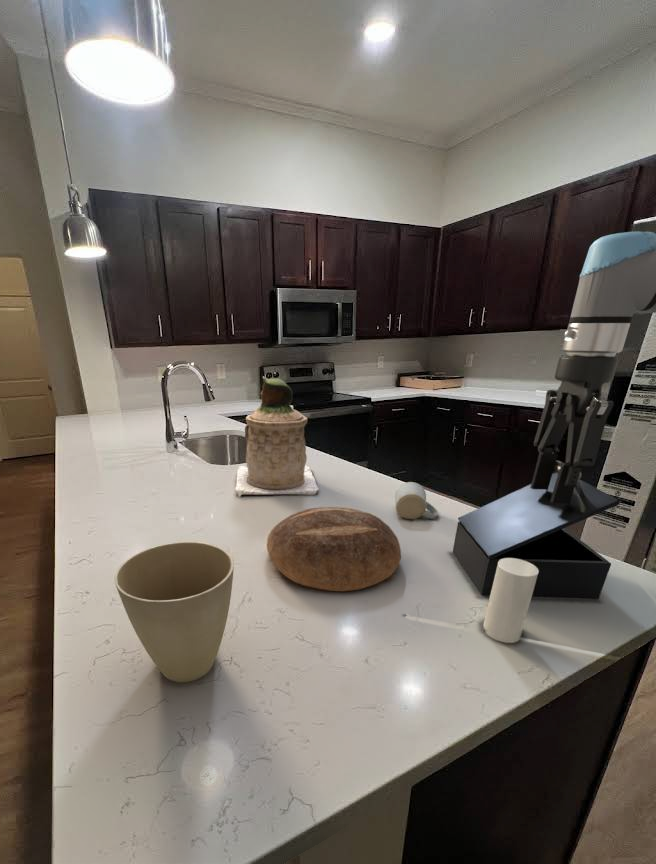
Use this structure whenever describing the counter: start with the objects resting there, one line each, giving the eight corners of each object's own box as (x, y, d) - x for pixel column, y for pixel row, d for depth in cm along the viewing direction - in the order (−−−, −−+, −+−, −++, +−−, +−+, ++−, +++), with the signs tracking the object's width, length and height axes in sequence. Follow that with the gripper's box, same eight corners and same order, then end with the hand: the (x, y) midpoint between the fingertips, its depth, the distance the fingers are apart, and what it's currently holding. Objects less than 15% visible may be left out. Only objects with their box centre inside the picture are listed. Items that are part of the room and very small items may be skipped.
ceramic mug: (394, 519, 104) (397, 491, 101) (393, 507, 111) (396, 480, 108) (439, 524, 102) (444, 495, 99) (435, 511, 109) (440, 483, 106)
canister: (516, 626, 67) (534, 560, 62) (522, 647, 62) (542, 579, 57) (481, 619, 68) (495, 555, 63) (484, 640, 64) (500, 572, 59)
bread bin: (549, 557, 86) (559, 523, 83) (597, 602, 72) (611, 563, 69) (451, 555, 88) (457, 521, 85) (480, 599, 73) (489, 560, 70)
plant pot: (243, 629, 67) (239, 540, 60) (233, 706, 53) (226, 602, 47) (150, 628, 67) (136, 540, 61) (116, 705, 53) (93, 601, 47)
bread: (262, 534, 97) (261, 495, 93) (374, 528, 100) (377, 490, 96) (274, 600, 74) (273, 551, 70) (420, 590, 76) (427, 542, 72)
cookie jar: (320, 496, 120) (324, 379, 107) (234, 498, 119) (228, 381, 106) (310, 469, 142) (312, 371, 130) (237, 471, 142) (233, 372, 129)
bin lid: (563, 472, 79) (553, 447, 77) (620, 504, 65) (610, 473, 63) (459, 521, 84) (447, 498, 83) (490, 559, 70) (477, 532, 68)
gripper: (532, 351, 73) (503, 477, 82) (604, 357, 55) (556, 516, 65) (577, 351, 72) (542, 478, 82) (664, 358, 55) (607, 518, 64)
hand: (549, 495), depth 73 cm, fingers closed on bin lid, 6 cm apart
